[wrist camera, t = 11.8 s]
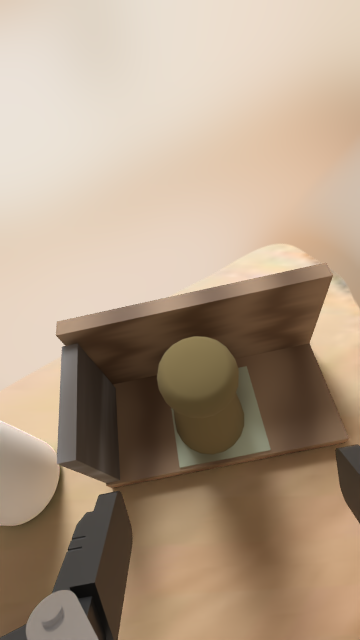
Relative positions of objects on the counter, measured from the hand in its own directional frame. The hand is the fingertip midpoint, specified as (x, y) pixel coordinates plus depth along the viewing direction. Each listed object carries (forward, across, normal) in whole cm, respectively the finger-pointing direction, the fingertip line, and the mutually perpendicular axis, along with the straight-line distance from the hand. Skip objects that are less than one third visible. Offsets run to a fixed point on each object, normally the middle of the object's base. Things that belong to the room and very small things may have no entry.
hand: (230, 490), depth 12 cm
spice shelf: (+18, 0, +6) cm, 19 cm away
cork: (+16, 0, +6) cm, 17 cm away
